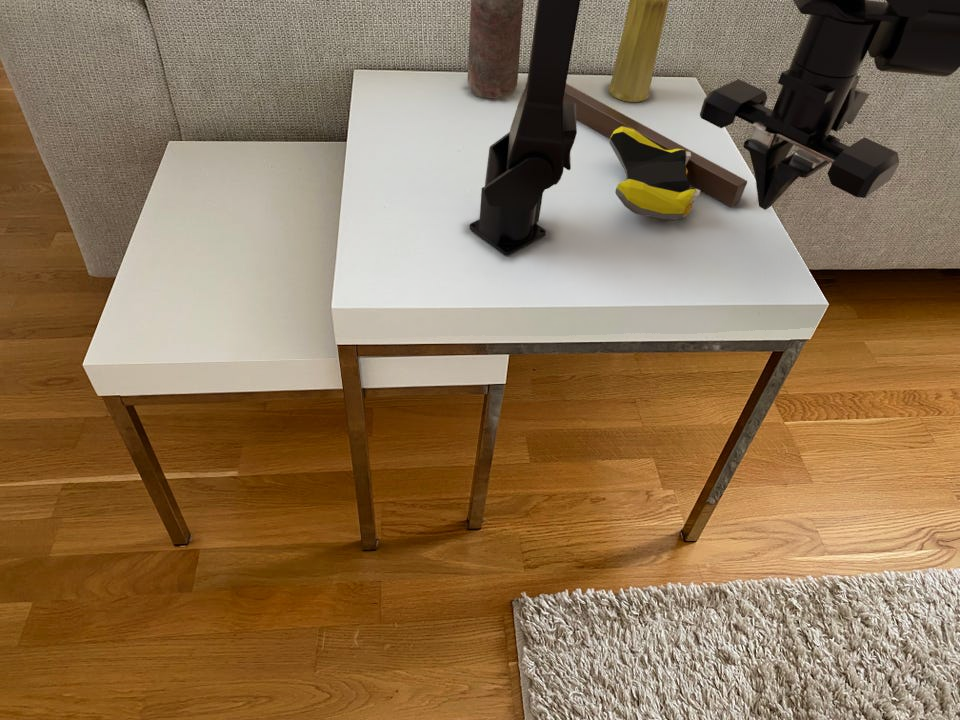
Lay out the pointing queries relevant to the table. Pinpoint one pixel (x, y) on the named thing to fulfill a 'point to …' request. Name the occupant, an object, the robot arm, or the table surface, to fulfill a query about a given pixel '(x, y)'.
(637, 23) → the vase
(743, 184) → the back rail
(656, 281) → the table surface
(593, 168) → the table surface
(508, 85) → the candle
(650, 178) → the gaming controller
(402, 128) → the table surface
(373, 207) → the table surface
